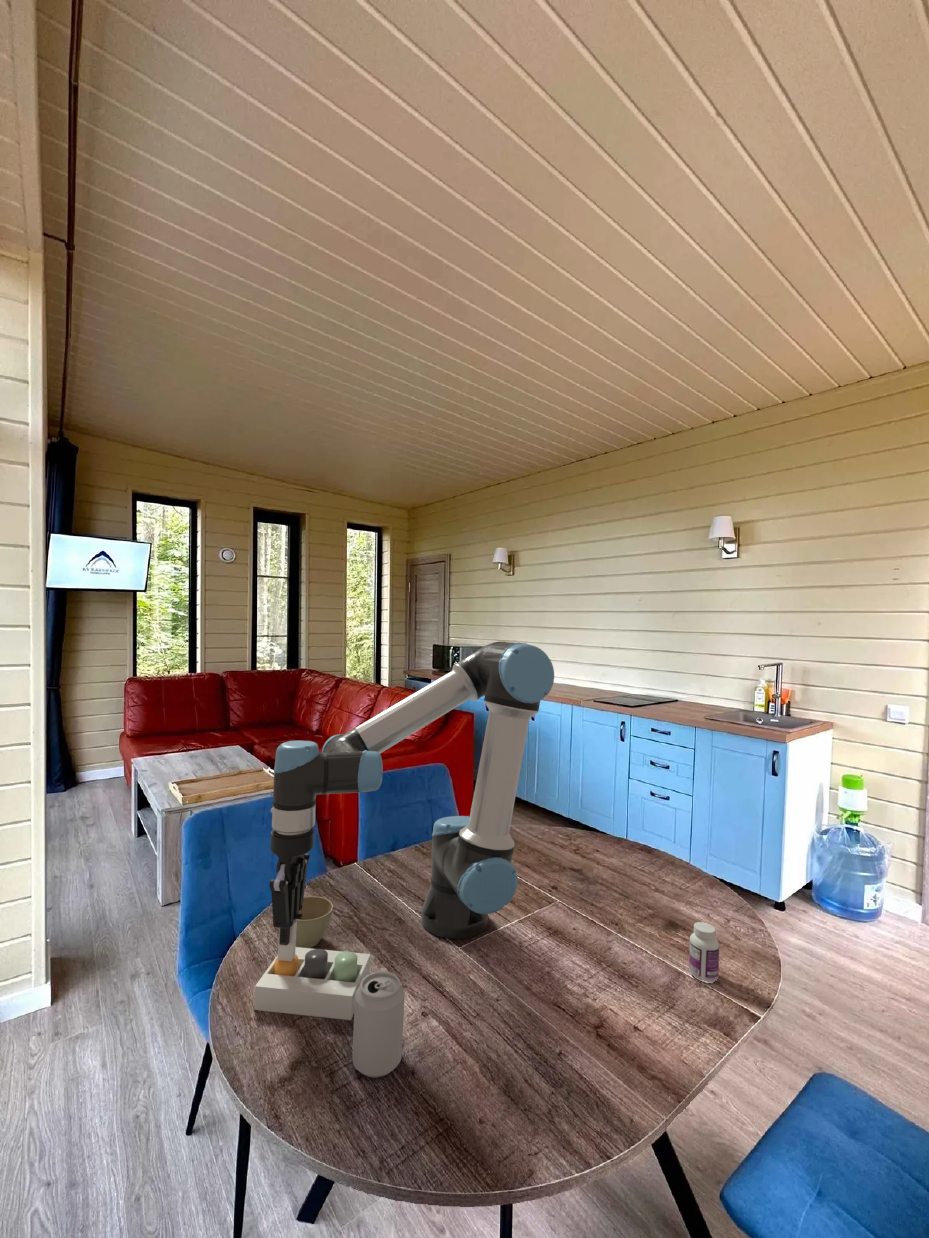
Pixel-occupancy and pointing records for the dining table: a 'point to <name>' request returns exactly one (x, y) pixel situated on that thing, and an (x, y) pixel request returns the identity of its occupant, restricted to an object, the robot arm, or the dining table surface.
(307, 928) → the flower pot
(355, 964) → the green button
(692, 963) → the pill bottle
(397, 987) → the can
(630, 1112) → the dining table surface
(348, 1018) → the white compartment box
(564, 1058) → the dining table surface
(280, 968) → the orange rounded piece
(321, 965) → the black button
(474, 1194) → the dining table surface
